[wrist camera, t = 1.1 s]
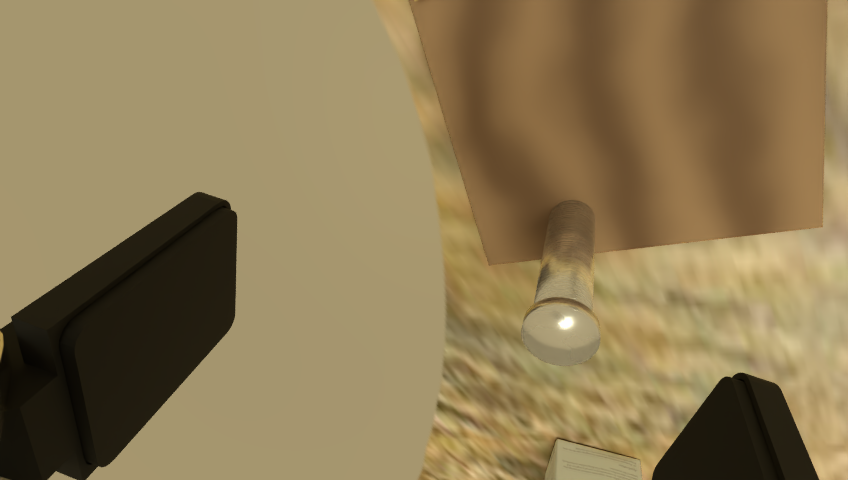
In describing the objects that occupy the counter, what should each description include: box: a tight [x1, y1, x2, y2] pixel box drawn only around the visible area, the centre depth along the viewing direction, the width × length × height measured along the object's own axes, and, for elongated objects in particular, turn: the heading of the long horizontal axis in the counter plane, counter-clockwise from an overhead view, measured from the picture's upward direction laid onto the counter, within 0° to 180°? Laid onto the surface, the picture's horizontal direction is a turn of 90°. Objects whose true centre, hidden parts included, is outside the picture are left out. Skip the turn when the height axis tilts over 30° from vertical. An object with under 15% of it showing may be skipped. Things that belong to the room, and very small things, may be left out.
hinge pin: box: [521, 200, 600, 366], centre depth 33 cm, size 4×4×13 cm
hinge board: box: [409, 0, 827, 265], centre depth 30 cm, size 22×30×5 cm
